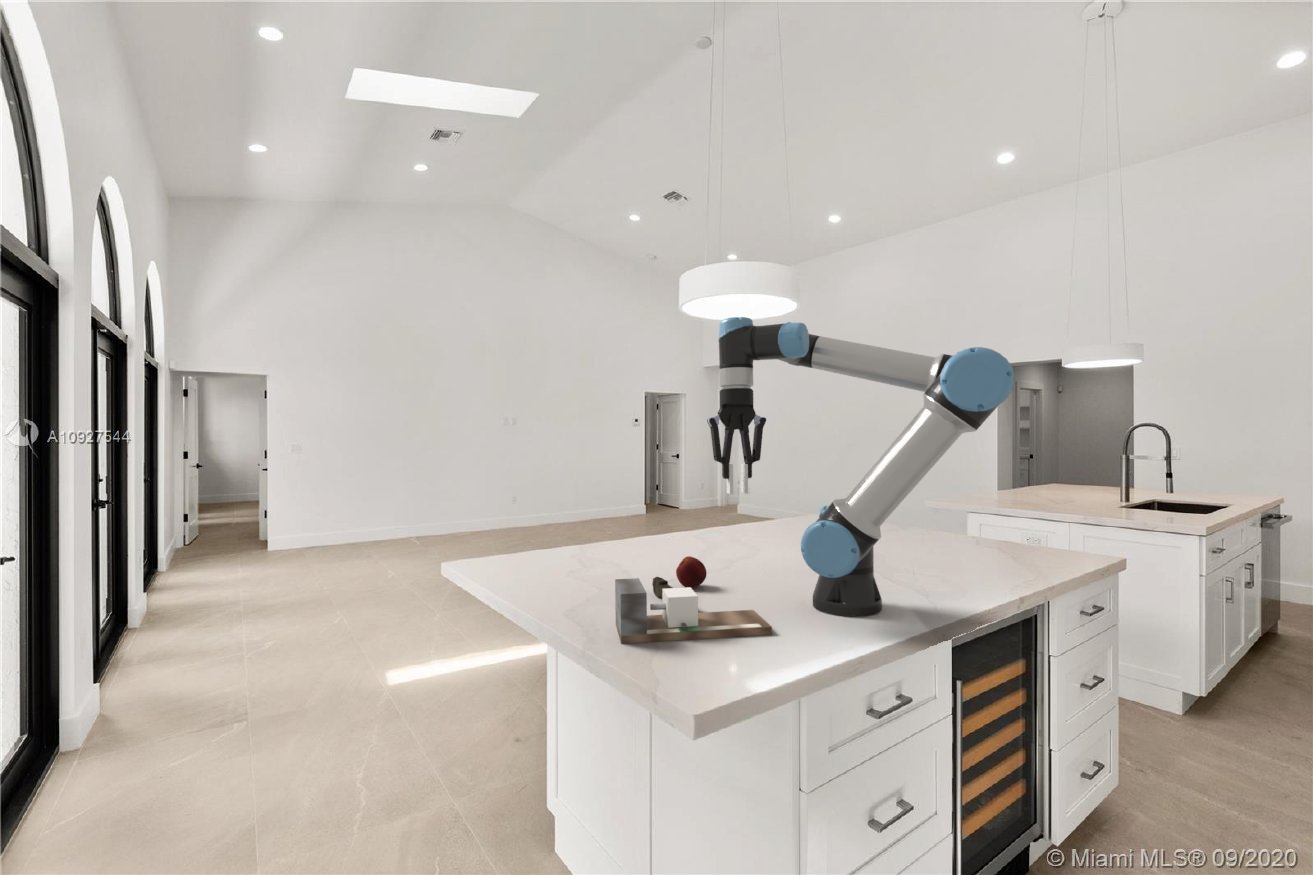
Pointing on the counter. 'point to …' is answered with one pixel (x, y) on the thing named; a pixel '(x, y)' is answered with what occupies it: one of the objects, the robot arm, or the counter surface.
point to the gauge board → (653, 627)
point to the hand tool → (659, 586)
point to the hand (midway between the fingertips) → (737, 493)
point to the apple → (691, 572)
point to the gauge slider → (678, 607)
